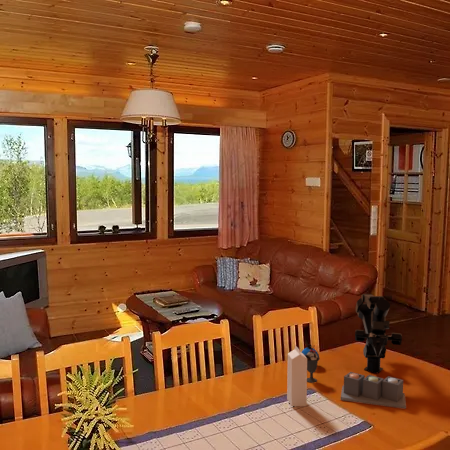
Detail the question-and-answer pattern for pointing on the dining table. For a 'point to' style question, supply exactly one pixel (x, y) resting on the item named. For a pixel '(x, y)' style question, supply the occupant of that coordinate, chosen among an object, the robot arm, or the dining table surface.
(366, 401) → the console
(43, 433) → the dining table surface
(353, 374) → the salmon orange ball
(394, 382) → the white rounded dome
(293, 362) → the milk
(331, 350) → the dining table surface
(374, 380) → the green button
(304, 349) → the ornament
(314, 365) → the sundae
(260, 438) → the dining table surface
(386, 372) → the dining table surface
